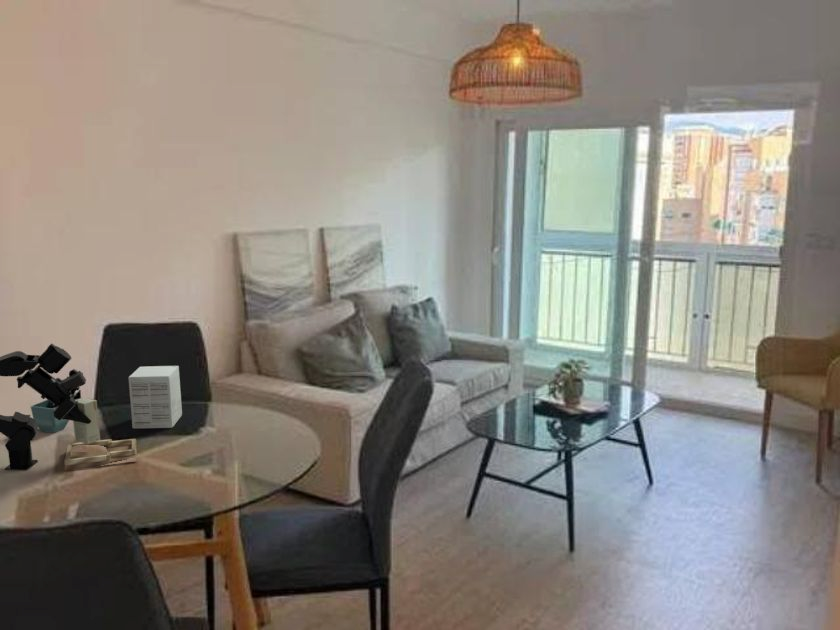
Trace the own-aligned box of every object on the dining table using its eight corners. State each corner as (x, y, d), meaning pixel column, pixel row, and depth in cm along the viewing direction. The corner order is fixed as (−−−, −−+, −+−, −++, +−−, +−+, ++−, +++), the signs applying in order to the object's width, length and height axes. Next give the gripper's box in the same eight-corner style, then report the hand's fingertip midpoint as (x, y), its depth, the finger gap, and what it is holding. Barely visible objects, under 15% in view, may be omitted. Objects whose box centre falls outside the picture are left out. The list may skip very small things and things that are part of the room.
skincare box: (101, 440, 228) (97, 400, 226) (87, 444, 225) (84, 404, 222) (87, 436, 232) (84, 396, 229) (73, 440, 228) (70, 400, 226)
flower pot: (74, 426, 256) (72, 400, 254) (55, 435, 248) (52, 408, 246) (52, 424, 258) (49, 398, 256) (32, 433, 250) (29, 406, 248)
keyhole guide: (64, 470, 220) (64, 462, 219) (69, 451, 235) (69, 442, 234) (136, 462, 226) (136, 453, 225) (137, 443, 241) (136, 435, 240)
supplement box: (143, 415, 266) (139, 366, 263) (182, 414, 267) (179, 365, 264) (131, 429, 253) (127, 377, 250) (172, 428, 254) (169, 376, 251)
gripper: (63, 372, 214) (109, 407, 219) (69, 356, 231) (111, 389, 237) (33, 402, 213) (81, 437, 218) (42, 384, 230) (85, 416, 236)
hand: (90, 418), depth 227 cm, fingers closed on skincare box, 7 cm apart
